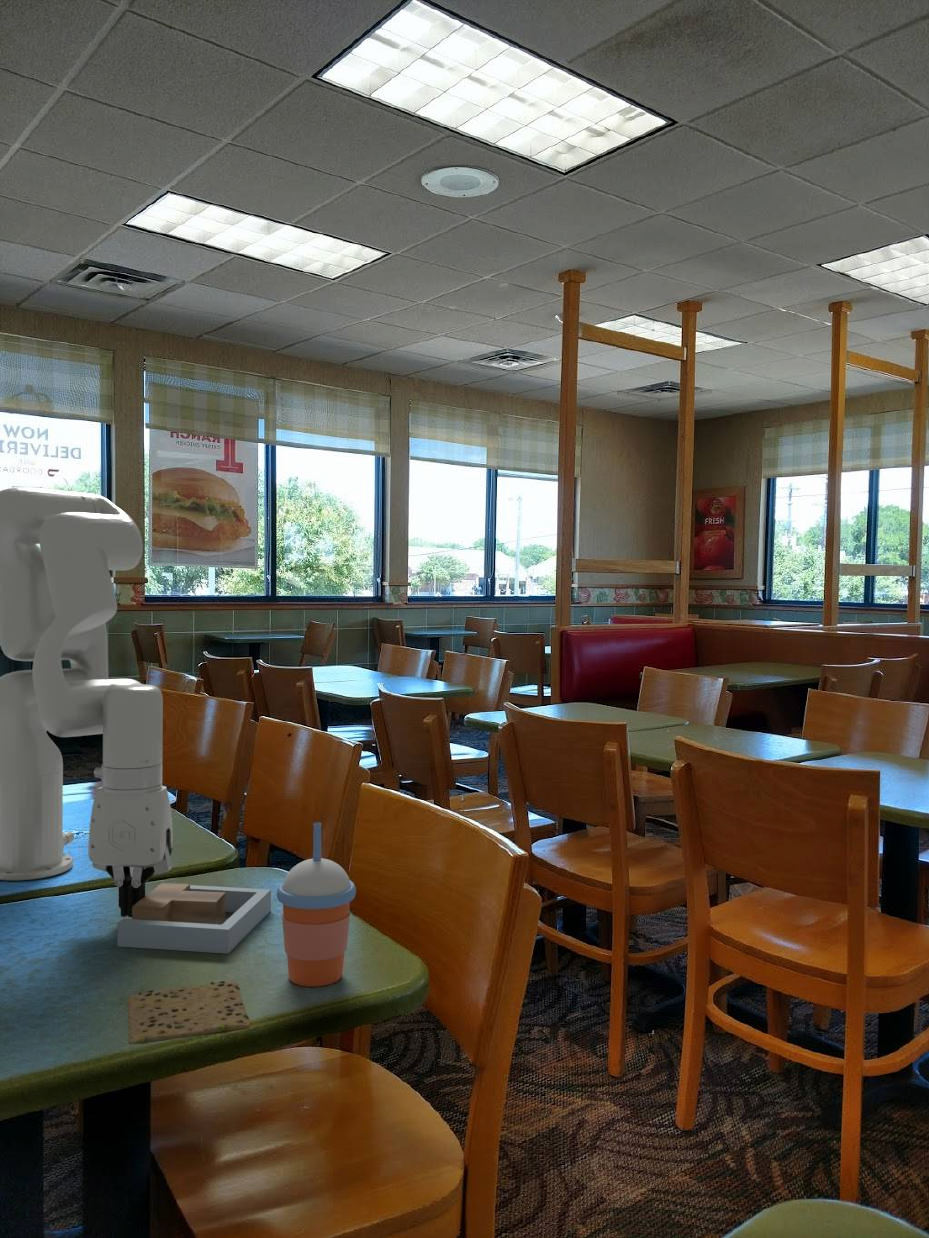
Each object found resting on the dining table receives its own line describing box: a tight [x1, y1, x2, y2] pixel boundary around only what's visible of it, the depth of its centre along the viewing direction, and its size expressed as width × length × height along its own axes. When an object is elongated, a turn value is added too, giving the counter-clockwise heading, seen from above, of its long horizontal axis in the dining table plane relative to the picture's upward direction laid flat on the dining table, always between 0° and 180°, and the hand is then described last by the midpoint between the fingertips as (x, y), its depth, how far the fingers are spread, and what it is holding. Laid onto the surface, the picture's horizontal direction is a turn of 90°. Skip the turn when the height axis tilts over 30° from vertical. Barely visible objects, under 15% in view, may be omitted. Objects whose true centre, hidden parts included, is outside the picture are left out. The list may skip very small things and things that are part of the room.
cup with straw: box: [276, 822, 357, 988], centre depth 111 cm, size 9×9×18 cm
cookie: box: [127, 980, 251, 1045], centre depth 102 cm, size 12×12×1 cm
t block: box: [131, 882, 227, 925], centre depth 128 cm, size 10×10×4 cm
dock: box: [116, 884, 272, 955], centre depth 127 cm, size 16×14×3 cm
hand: (131, 913), depth 128 cm, fingers closed
